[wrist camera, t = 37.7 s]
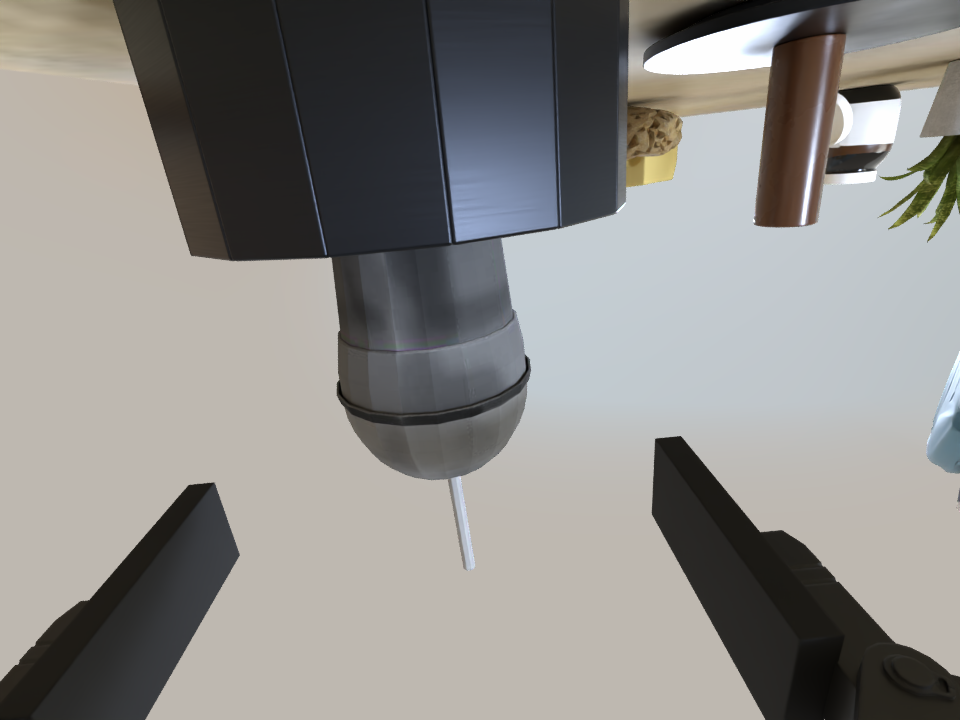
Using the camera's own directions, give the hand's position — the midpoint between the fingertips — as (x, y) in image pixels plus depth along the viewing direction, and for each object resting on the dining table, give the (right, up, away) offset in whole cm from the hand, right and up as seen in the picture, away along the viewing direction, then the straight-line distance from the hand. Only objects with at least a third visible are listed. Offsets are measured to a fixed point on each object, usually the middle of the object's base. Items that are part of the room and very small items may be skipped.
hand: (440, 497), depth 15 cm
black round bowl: (-2, +15, -1) cm, 15 cm away
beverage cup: (-2, +15, -1) cm, 15 cm away
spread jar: (+50, +40, +50) cm, 81 cm away
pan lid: (+16, +19, +7) cm, 26 cm away
